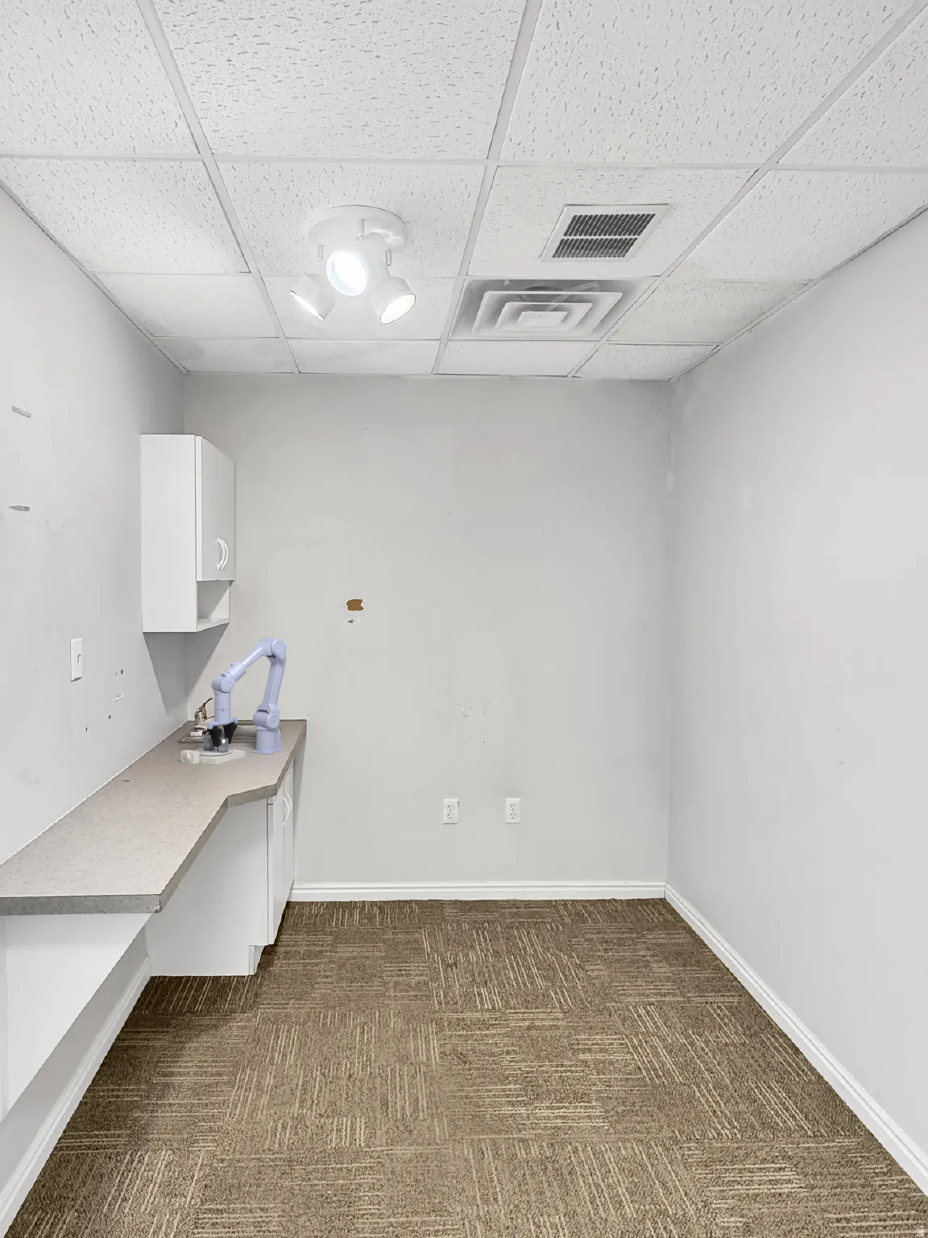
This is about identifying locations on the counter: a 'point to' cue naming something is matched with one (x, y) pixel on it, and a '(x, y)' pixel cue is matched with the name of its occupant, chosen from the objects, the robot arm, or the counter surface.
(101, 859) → the counter surface
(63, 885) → the counter surface
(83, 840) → the counter surface
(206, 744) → the cylinder
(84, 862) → the counter surface
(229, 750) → the scale
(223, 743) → the cylinder
